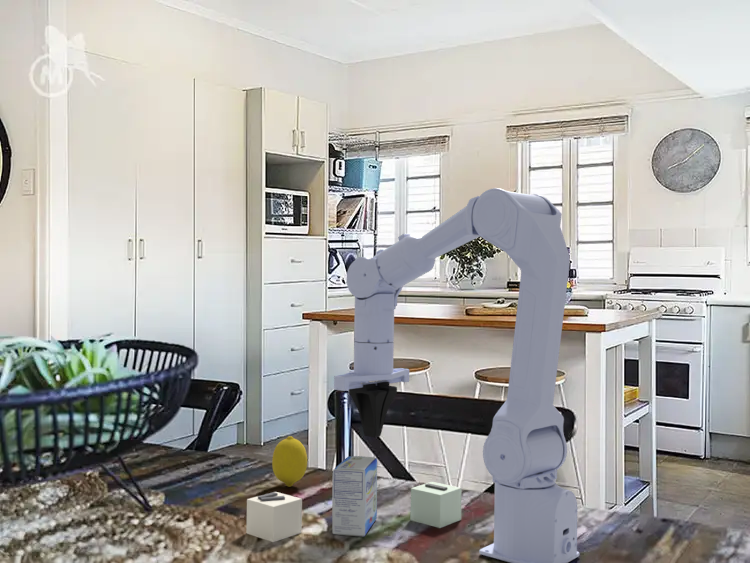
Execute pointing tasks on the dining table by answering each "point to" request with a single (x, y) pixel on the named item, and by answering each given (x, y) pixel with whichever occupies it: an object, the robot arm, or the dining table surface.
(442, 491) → the sage digit block
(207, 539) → the dining table surface
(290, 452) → the lemon
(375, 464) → the medicine box
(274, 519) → the cream digit block
